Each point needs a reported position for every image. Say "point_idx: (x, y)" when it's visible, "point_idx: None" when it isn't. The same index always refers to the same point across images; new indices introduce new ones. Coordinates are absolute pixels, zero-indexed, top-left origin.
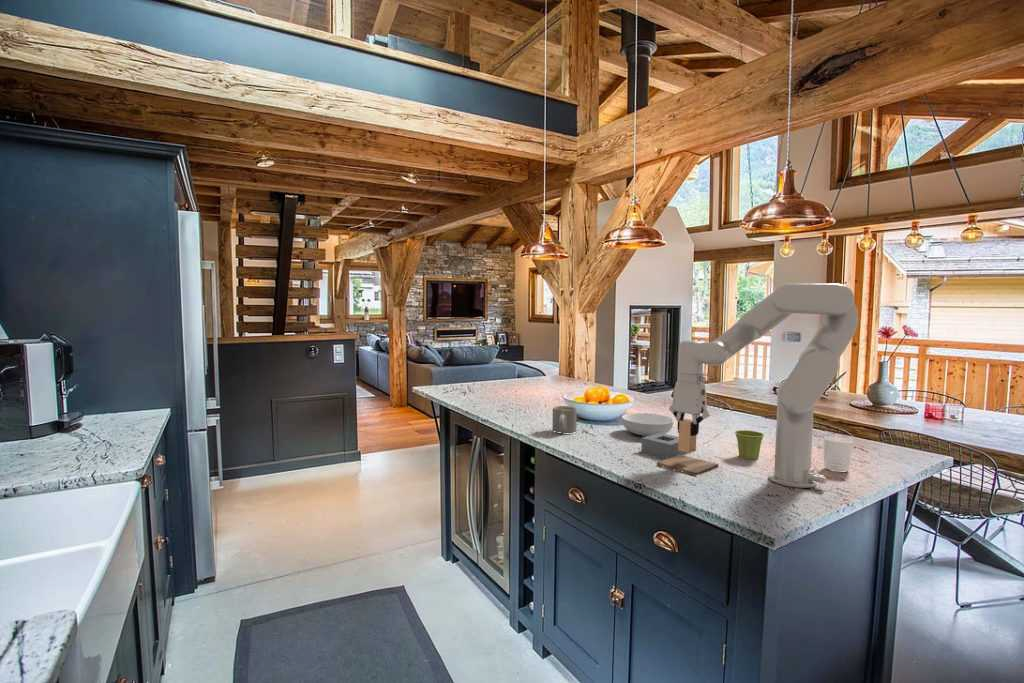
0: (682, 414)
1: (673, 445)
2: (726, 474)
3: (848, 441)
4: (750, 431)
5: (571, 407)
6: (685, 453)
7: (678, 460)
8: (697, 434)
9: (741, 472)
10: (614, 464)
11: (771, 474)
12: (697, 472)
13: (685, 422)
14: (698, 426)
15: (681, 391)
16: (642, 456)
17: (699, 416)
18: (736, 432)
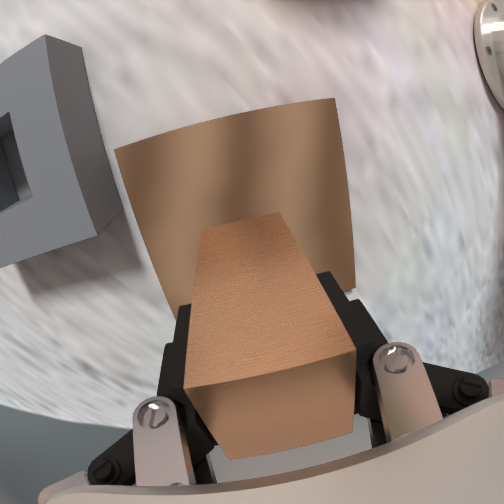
0: (171, 465)
1: (91, 209)
2: (404, 161)
3: None
4: None
5: None
6: (86, 78)
7: (193, 232)
8: (327, 271)
9: (417, 85)
10: (132, 404)
11: (496, 74)
12: (354, 280)
13: (294, 439)
14: (380, 337)
15: None
16: (63, 290)
17: (434, 413)
18: None
